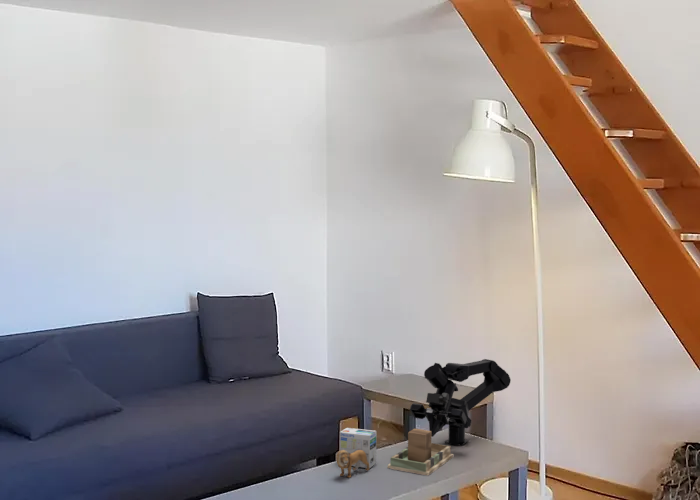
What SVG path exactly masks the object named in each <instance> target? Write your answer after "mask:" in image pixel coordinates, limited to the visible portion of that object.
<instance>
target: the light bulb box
mask: <svg viewBox="0 0 700 500" xmlns="http://www.w3.org/2000/svg"><path fill="white" fill-rule="evenodd" d="M377 433H378V432H377V430H374V429H373V430H371V429H364V428H363V429H361V428H353V427H352V428H351V427H346V428H344V429H342V430H341V431H339V446H338V447H339V451H340V450H345V451H347V452H348V453H350V454H351V453H353V452H355V451H357V450H363V451H364V452H365V453H366V456H367V462H368V463H369V469H370V468H372V467H373V466H374V465H376V464H377ZM339 451H338V452H339ZM359 464H360V465H359V467H358V468H365V469H366V468H367V466H366V465H365V464H363V463H362V462H361V461H359ZM351 467H354V468H355V467H356V464H354V465H352V466H351Z"/></svg>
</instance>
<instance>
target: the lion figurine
mask: <svg viewBox="0 0 700 500" xmlns="http://www.w3.org/2000/svg"><path fill="white" fill-rule="evenodd" d="M335 458H336V459H335V460H336V461H335V462H336V463H337V466H338V467H339V468H340V471H341V473H339V476H340V477H343V476H345V469H347V476H346V478H352V470H353V471H357V470H358V469H359V468H360V467H359V465H360V464H359V461H361V462H362V463H363V464H365V465H366V466H367V468H365V469H364V470H365V471H366V472H367V471H370V468H369V463H368V462H367V456H366V453H365V452H364V451H363V450H357V451H355V452H353V453H351V454H350V453H348V452H347V451H345V450H340V451H337V453H336V454H335ZM354 464H356V467H355V466H354V467H353V466H352V465H354Z"/></svg>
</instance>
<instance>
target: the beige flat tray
mask: <svg viewBox="0 0 700 500" xmlns="http://www.w3.org/2000/svg"><path fill="white" fill-rule="evenodd" d="M451 448H452V446H451V445H445V444H440V443H433V442H431V458H430V459H428V460H427V461H425V462H424V463H423V462H418V461H412V460H408V446H407V447H405V448H404V449H403V450H401V451H399V452H398V453H396V454H394V455H393V456H391V457H390V460H389V461H390V462H389V463H388V464H387V469H389V468H390V469H391V470H395V471H400V472H407V473H412V474H417V475H423V476H428V477H429V476H430V475H432V474H433V473H435V471H437V470H438V469H439V468H441V467H442V466H443V465H445V464H446V463H448V462H449V461H451V459H453V458H454V453H451V452H452V449H451Z"/></svg>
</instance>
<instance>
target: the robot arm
mask: <svg viewBox="0 0 700 500" xmlns="http://www.w3.org/2000/svg"><path fill="white" fill-rule="evenodd" d="M479 374H482V376H483V377H484V378H483V382H481V383H480V384H479V385H477V386H476V387H474V388H473V389H472V390H471V391H469V392H468V393H467V394H465V396H463V397H461V399H459V398H455V397H453V395H454V392H459V387H458V386H457V383H455V382H459V383H462V382H465V381H466V380H468V379H469V377H471V376H475V375H479ZM423 376H424V378H425V379H426V380H427V381H428V383H430V385H431V386H432V388H435V389H436V391H435V392H434V393H433V392H427V395H426V401H425V403H427V404H428V407H429V408H428V407H427V408H425V406H424V404H423V403H415V402H413V403H411V404H410V407H409V411H410V413H411V414H412V416H413V418H415V419H418V420H419V419H420V420H423V419H425V418H426V419H427V421H428V423H429V425H428V428H429V430H428V431H432V437H431V438H433V437H434V436H435V435H436V434H437V433H438V432H439V431H440V430H441V429H443V428H444V426H446V425H447V426H448V433H447V434H448V436H447V439H446V440H445V441H444V443H445V444H449V445H455V446H464V445H465V444H466V443H468V442H469V439H466V429H469V428H470V427H471V424H472V419H471V418H470V417H469V414H470V411H471V410H472V409H473V408H475V407H476V406H477V405H478V404H480V403H481V402H482V401H483V400H485V399H487V398H488V397H489V396H490V395H491V394H493V393H495V392H500V391H501V392H502V391H504V390H506V389H508V388H509V386H510V384H511V377H510V375H509V373H508V372H507V371H506V370H505V369H503V368H502V367H501V366H500V365H499V364H498V363H497V362H496V361H495V360H493V359H486V358H484V359H482V360H476V361H472V362H467V363H455V362H448V363H446V364H445V366H443V367H442V364H440V363H438V362H434V364H433V365H431V366H429V367H427V368H426V369H425V371H424V374H423Z"/></svg>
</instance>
